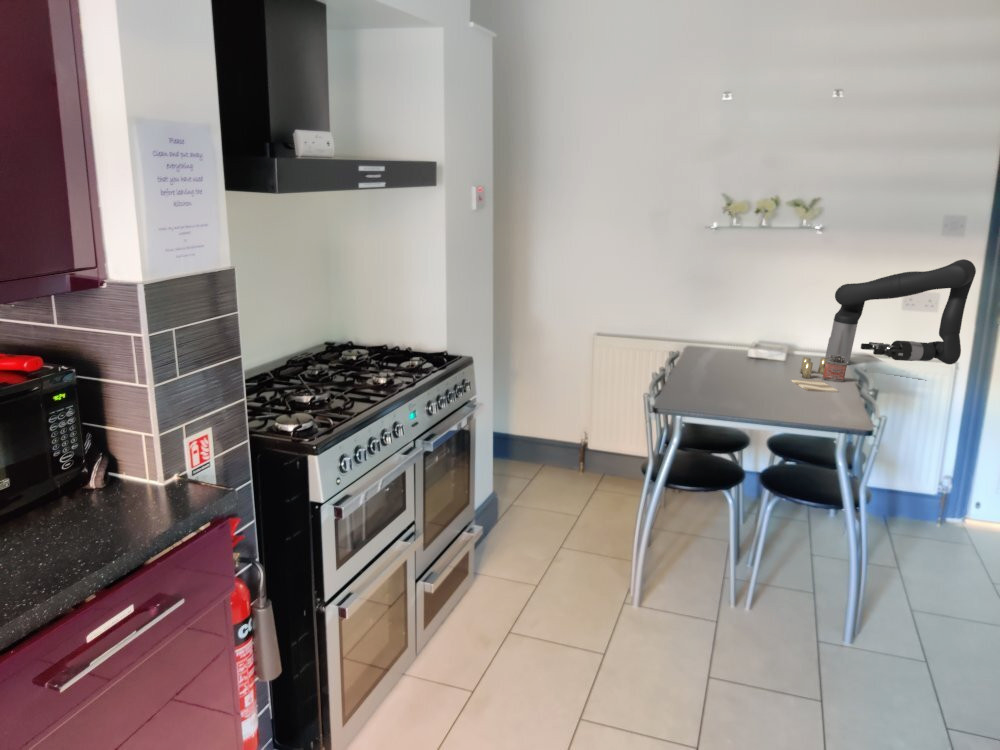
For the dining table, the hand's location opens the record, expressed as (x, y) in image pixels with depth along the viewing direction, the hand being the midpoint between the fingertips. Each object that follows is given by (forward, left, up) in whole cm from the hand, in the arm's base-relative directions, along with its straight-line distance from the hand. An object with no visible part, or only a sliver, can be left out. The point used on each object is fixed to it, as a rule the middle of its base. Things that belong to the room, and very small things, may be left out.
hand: (867, 348), depth 309 cm
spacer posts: (-6, -16, -13) cm, 22 cm away
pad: (+10, -24, -13) cm, 29 cm away
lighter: (0, -11, -13) cm, 18 cm away
